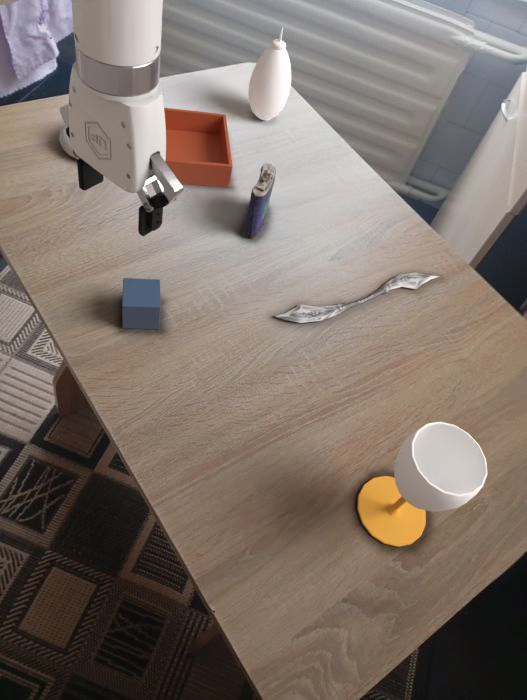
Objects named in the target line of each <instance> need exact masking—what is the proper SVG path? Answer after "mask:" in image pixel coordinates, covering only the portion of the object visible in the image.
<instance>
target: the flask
mask: <svg viewBox="0 0 527 700" xmlns="http://www.w3.org/2000/svg"><path fill="white" fill-rule="evenodd" d="M276 172H277V169H276V166H275V165H273V164H272V163H263V164H262V166H261V168H260V174H259V178H258V180H257V182H256V184H254V186H253V187H252V188H251V192H250V198H249V203H248V207H247V212H246V218H245V223H244V226H243V232H242V234H243V237H244V238H246V239H249V240H254V239H256V238H257V237H258V236H259V234H260V233H261V232H262V230H263V228H264V225H265V219H266V217H267V212H268V208H269V205H270V200H271V195H272V192H273V189H274V184H275V181H276V175H277V173H276Z"/></svg>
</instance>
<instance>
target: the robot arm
mask: <svg viewBox="0 0 527 700" xmlns="http://www.w3.org/2000/svg"><path fill="white" fill-rule="evenodd" d="M18 1H19V0H0V6H5V5H10V4H14V3H16V2H18ZM71 12H72V14H71V15H72V26H73V27H72V28H73V39H74V51H75V61H74V62H73V63H72V67H71V70H70V77H69V86H68V103H67V104H65V105H63V106H60V107H59V113H60V116H61V118H62V121H63V123H64V125H66V126H67V128H66V134H67V136H68V137H69V139H70V142H71V146H72V152H73V155H74V156H75V157H76V158H77V159H76V158H75V159H76V167H77V180H78V188H79V189H80V190H81V191H87V190H90V189H91V188H93V187H95V186H97V185H100V184H101V183H102V182H104V177H105V178H106V179H107V180H109V181H110V182H112V183H113V184H114V185H116V186H117V187H119V188H120V189H121V190H123V191H125V192H127V193H130V194H136V193H137V196H138V198H139V200H140V202H141V205H140V206H139V208H138V221H137V222H138V223H137V225H138V226H137V227H138V230H137V232H138V234H139V235H140V236H141V237H145V236H147V235H148V234H150V233H152V232H155V231H157V230H158V229H160V228H161V226H162V224H163V216H164V208H165V207H167V206H169V205H171V204H172V203H173V202H174V201H177V199H178V197H179V196H181V194H182V193H183V192H184V186H183V184H182V183H180V181H179V180H178V179H177V177H176V176H175V175H174V173H173V172H172V171H171V169H170V168H169V166H168V165H167V164H166V162H165V161H166V125H165V112H164V108H165V104H164V103H165V102H164V98H163V91H162V90H161V88H160V72H161V55H162V53H161V52H162V51H161V49H162V35H163V34H162V32H163V12H164V0H71ZM78 159H79V160H78ZM149 185H151V186H152V187H153V190H154V192H155V194H153V195H152V196H150V194H149V192H148V189H147V186H149Z"/></svg>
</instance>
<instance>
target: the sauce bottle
mask: <svg viewBox="0 0 527 700" xmlns="http://www.w3.org/2000/svg"><path fill="white" fill-rule="evenodd" d="M283 33H284V27H283V26H282V27H281V29H280V32H279V37H278V38H275V39H273V40H272V41H271V45H269V46H268V47H266V49H264V50H263V52H262V54H261V55H260V56H259V58H258V59H257V61H256V63H255V65H254V67H253V70H252V72H251V75H250V78H249V84H248V90H247V91H248V92H247V96H248V104H249V107H250V109H251V112H252V114H254V115H255V117H257V118H258V119H259V120H262V121H270V120H272V119H274V118H276V117H278V115H279V114H280V113H281V112H282V111H283V109H284V107H285V106H286V105H287V102H288V99H289V97H290V93H291V86H292V65H291V58H290V55H289V52H288V50H287V43H286V41H284V40H283Z"/></svg>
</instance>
